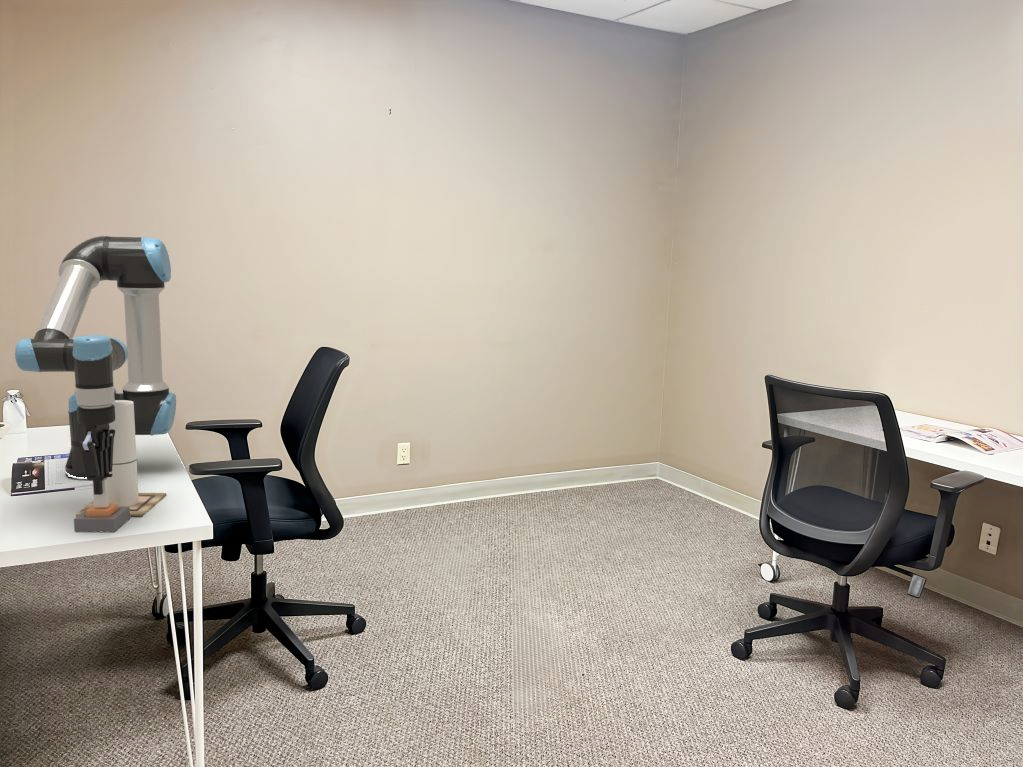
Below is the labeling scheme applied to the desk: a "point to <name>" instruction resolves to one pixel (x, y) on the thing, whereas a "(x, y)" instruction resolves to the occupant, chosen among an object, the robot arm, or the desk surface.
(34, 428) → the desk surface
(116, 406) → the cylindrical container
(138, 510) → the picture board
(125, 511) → the button housing
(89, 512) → the button
